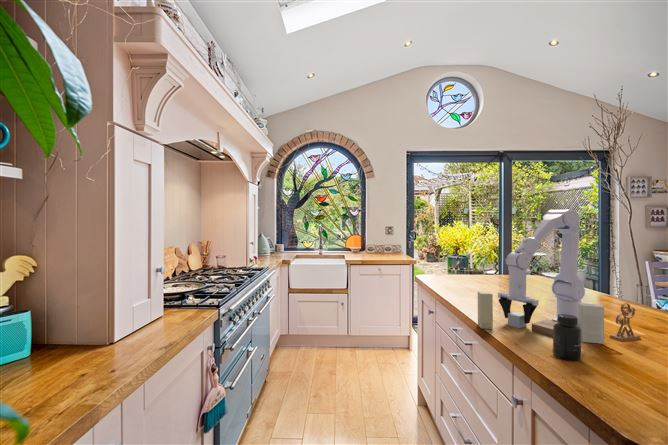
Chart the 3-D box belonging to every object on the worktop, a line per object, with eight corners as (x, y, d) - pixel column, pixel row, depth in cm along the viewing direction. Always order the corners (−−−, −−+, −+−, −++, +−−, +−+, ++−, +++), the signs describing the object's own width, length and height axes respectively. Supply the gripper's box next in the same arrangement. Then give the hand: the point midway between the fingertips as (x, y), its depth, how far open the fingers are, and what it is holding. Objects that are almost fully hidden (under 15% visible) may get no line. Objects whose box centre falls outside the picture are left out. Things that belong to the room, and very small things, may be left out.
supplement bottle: (582, 363, 93) (583, 321, 93) (553, 358, 97) (553, 317, 97) (580, 355, 99) (580, 314, 99) (552, 350, 103) (553, 311, 102)
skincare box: (598, 339, 112) (599, 304, 112) (604, 344, 108) (604, 307, 107) (577, 337, 114) (577, 302, 113) (582, 342, 110) (582, 305, 109)
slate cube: (514, 323, 129) (514, 311, 129) (526, 326, 125) (526, 314, 125) (507, 325, 127) (507, 313, 127) (519, 328, 123) (519, 316, 123)
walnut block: (546, 327, 126) (546, 319, 125) (576, 335, 117) (576, 327, 117) (531, 332, 120) (531, 323, 120) (561, 340, 112) (562, 331, 112)
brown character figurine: (621, 341, 110) (622, 305, 110) (609, 337, 114) (609, 302, 114) (641, 339, 113) (641, 303, 112) (628, 335, 116) (628, 300, 116)
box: (493, 329, 121) (493, 294, 121) (480, 328, 122) (480, 293, 122) (489, 325, 127) (489, 291, 126) (477, 324, 127) (477, 290, 127)
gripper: (493, 282, 130) (492, 316, 130) (530, 289, 118) (530, 327, 118) (504, 280, 134) (503, 314, 134) (541, 287, 121) (541, 324, 121)
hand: (516, 320), depth 126 cm, fingers open, 7 cm apart
